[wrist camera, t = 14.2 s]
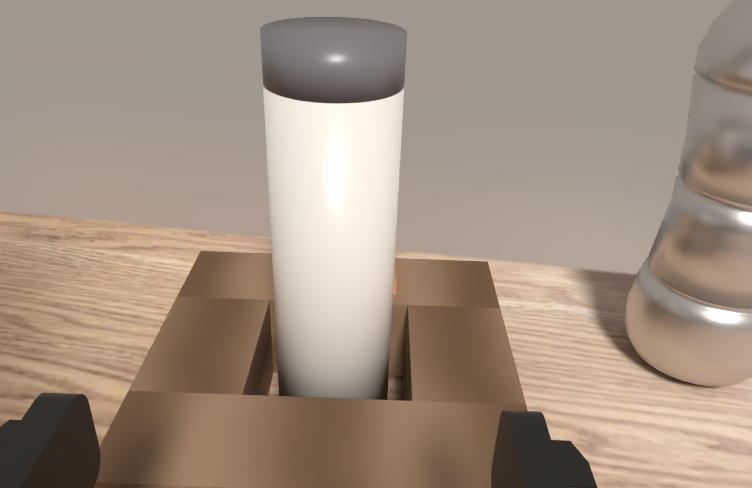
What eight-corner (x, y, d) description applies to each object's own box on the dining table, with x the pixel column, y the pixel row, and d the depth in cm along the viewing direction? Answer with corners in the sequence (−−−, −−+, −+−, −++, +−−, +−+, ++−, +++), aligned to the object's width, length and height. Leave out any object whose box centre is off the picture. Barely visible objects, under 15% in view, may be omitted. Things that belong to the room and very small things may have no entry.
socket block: (104, 567, 21) (78, 472, 19) (208, 318, 33) (199, 244, 31) (531, 582, 21) (553, 489, 19) (478, 328, 33) (488, 254, 31)
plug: (273, 461, 25) (247, 42, 18) (288, 385, 29) (272, 14, 21) (385, 465, 25) (409, 48, 18) (385, 389, 29) (405, 19, 21)
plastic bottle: (615, 310, 35) (721, -105, 26) (751, 337, 34) (921, -98, 24) (614, 385, 30) (748, -106, 20) (776, 422, 28) (1007, -97, 19)
